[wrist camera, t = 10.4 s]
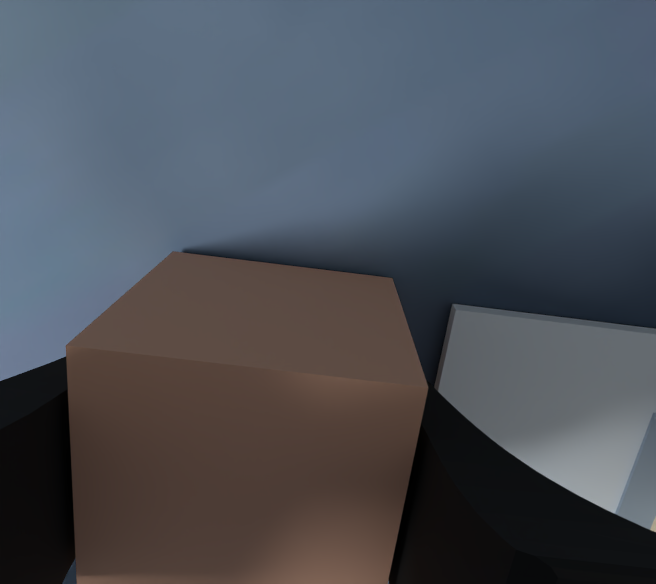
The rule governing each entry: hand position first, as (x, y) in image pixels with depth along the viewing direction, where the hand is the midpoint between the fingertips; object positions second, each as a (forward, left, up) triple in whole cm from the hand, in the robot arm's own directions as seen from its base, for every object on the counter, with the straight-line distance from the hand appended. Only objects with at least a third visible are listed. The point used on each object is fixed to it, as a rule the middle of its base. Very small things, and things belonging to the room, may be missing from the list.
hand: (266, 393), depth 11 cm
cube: (0, 0, -1) cm, 1 cm away
